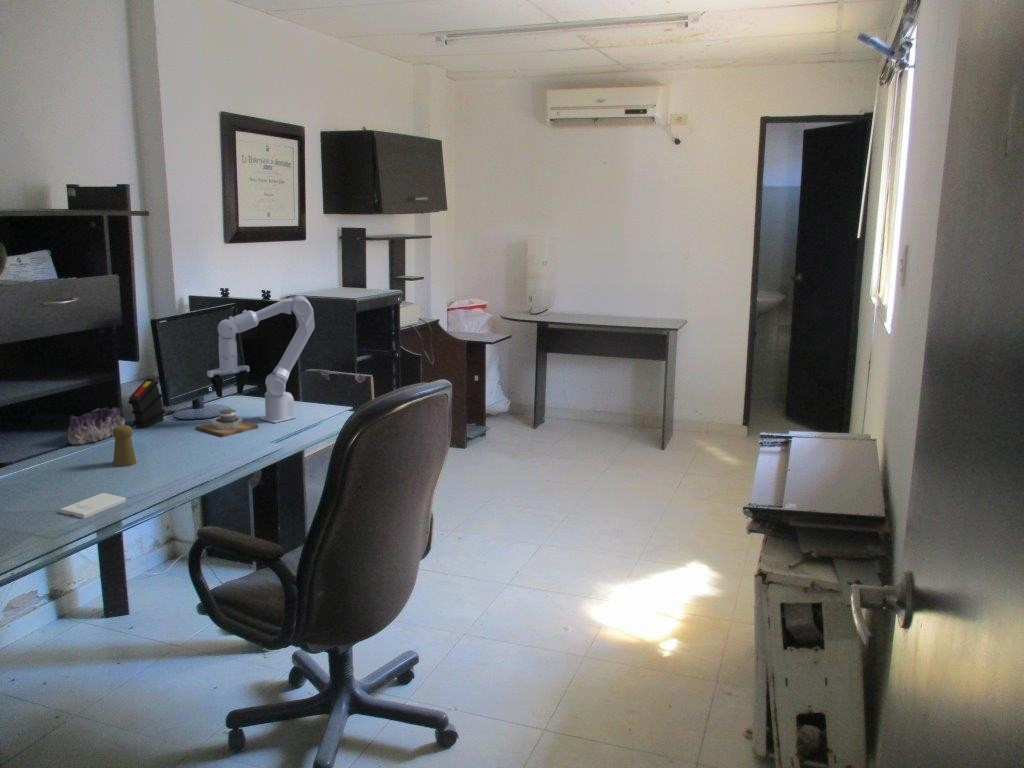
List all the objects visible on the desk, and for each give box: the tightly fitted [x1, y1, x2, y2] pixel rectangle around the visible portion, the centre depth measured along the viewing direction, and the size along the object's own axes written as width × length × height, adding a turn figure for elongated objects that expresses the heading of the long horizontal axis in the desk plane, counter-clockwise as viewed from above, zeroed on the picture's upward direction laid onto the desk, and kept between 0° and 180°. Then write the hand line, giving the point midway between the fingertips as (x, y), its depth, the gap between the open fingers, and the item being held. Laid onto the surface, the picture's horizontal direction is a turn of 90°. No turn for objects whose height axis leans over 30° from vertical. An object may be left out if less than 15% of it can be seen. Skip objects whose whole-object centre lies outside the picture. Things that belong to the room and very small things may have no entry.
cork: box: [112, 424, 137, 468], centre depth 234 cm, size 6×6×11 cm
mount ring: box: [211, 415, 243, 430], centre depth 273 cm, size 9×9×2 cm
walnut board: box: [195, 420, 259, 438], centre depth 273 cm, size 14×14×1 cm
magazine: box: [127, 378, 166, 429], centre depth 273 cm, size 4×13×15 cm, turn 168°
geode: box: [67, 406, 126, 447], centre depth 258 cm, size 20×12×10 cm, turn 171°
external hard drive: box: [58, 492, 127, 519], centre depth 203 cm, size 2×8×12 cm
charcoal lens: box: [219, 408, 237, 423], centre depth 272 cm, size 5×5×5 cm
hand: (229, 395), depth 279 cm, fingers open, 7 cm apart
